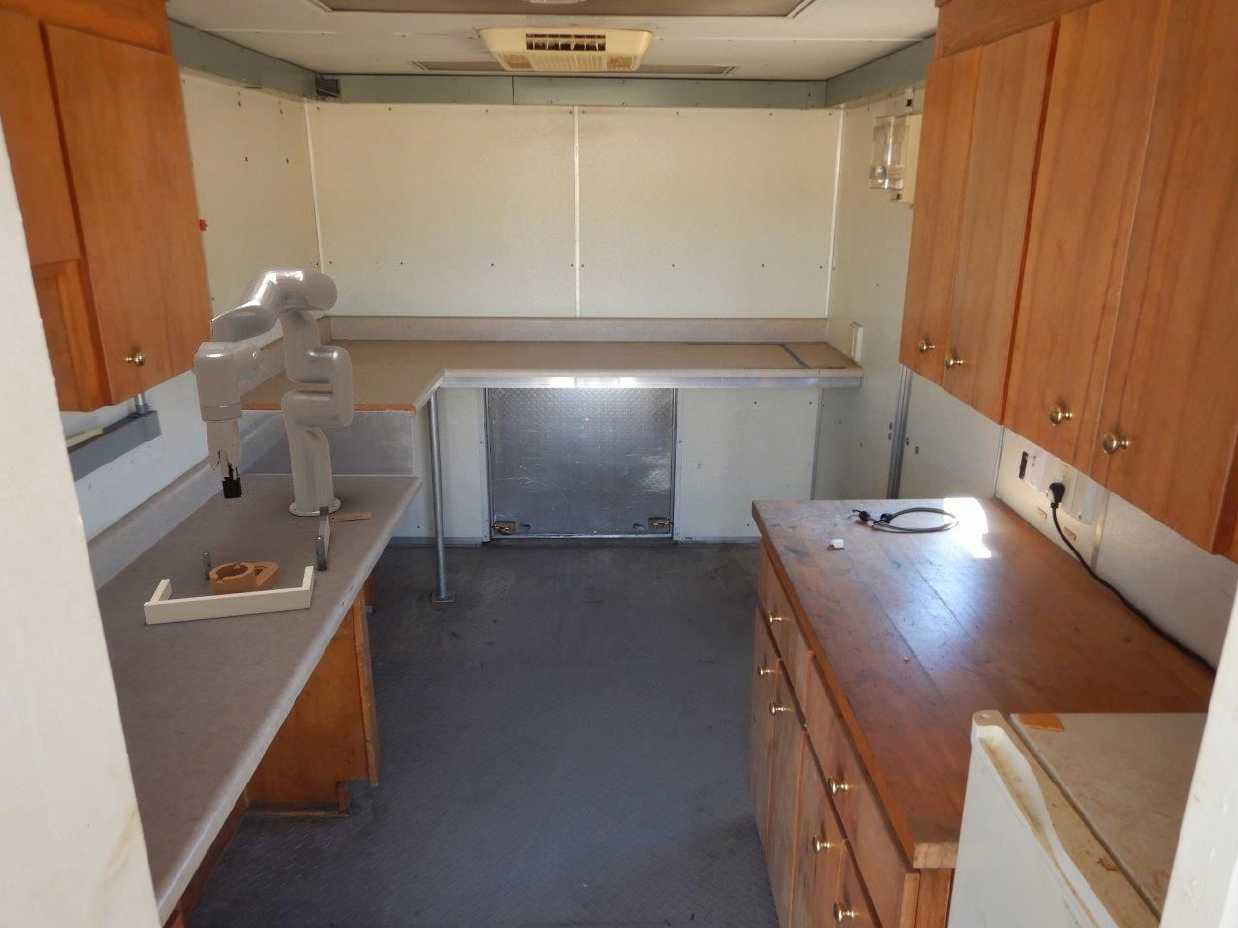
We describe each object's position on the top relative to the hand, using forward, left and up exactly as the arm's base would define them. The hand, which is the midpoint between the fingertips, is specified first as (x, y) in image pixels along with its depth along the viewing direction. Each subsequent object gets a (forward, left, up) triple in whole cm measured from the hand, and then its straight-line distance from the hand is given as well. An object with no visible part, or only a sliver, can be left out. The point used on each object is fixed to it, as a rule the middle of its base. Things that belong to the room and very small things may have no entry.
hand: (233, 496), depth 182 cm
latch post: (-1, -7, -18) cm, 20 cm away
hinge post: (-1, +16, -18) cm, 24 cm away
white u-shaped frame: (+10, 0, -18) cm, 21 cm away
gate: (-12, +16, -18) cm, 27 cm away
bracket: (+7, +2, -19) cm, 20 cm away
